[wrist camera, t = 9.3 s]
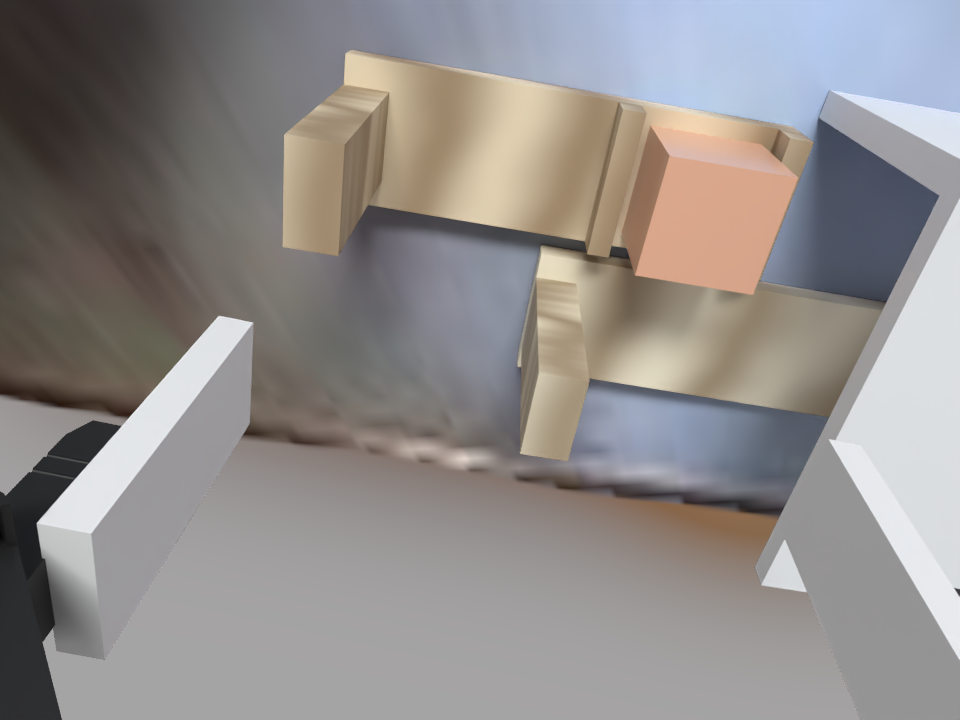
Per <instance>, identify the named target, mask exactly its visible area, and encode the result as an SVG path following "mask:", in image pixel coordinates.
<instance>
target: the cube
mask: <svg viewBox="0 0 960 720" xmlns="http://www.w3.org/2000/svg"><path fill="white" fill-rule="evenodd" d="M797 180H798V177H797V176H796V175H795V174H793V173H792V172H791V171H790V170H789V169H788V168H787V167H786V166H785V165H784V164H783V163H781V162H780V161H779V160H778V159H777V158H776V157H775V156H774V155H773V154H772V153H770V152H769V151H768V150H767V149H766V148H765V147H764V146H763V145H762V144H756V143H750V142H744V141H739V140H733V139H727V138H721V137H715V136H710V135H704V134H698V133H692V132H687V131H681V130H675V129H669V128H663V127H658V126H652V125H650V129H649V132H648V136H647V140H646V143H645V147H644V151H643V155H642V158H641V162H640V166H639V169H638V173H637V177H636V180H635V184H634V188H633V192H632V195H631V199H630V203H629V206H628V210H627V214H626V217H625V221H624V225H623V229H622V235H623V238H624V241H625V245H626V248H627V251H628V254H629V258H630V261H631V264H632V267H633V270H634V274H635V275H636V276H642V277H648V278H654V279H660V280H666V281H672V282H678V283H684V284H690V285H696V286H702V287H708V288H714V289H720V290H726V291H732V292H738V293H744V294H750V295H753V293H754V291H755V288H756V286H757V283H758V280H759V278H760V275H761V273H762V270H763V267H764V265H765V262H766V260H767V257H768V255H769V252H770V249H771V247H772V244H773V242H774V239H775V237H776V234H777V231H778V229H779V226H780V224H781V221H782V219H783V216H784V213H785V211H786V208H787V206H788V203H789V201H790V198H791V195H792V193H793V190H794V188H795V185H796V182H797Z"/></svg>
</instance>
